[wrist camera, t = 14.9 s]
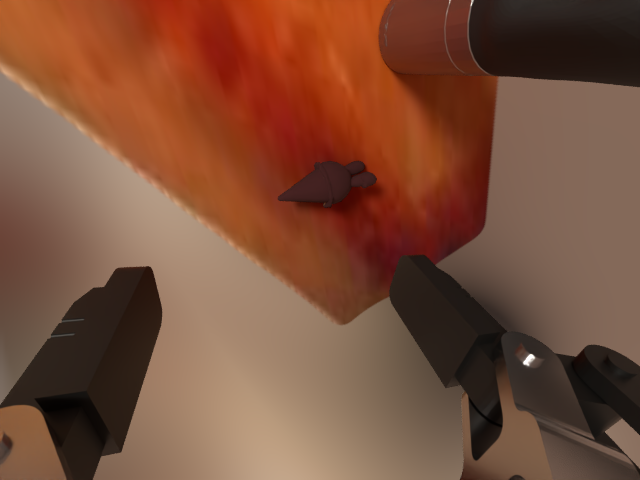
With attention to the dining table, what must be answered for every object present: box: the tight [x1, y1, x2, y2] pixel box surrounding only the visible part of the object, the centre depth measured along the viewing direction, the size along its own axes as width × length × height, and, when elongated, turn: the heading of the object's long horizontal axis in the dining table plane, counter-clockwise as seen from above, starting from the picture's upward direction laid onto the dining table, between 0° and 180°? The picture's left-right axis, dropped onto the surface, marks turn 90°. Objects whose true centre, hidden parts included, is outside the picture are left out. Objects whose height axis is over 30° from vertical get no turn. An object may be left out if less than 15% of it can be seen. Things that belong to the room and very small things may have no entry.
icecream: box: [278, 161, 377, 208], centre depth 41 cm, size 7×7×15 cm
